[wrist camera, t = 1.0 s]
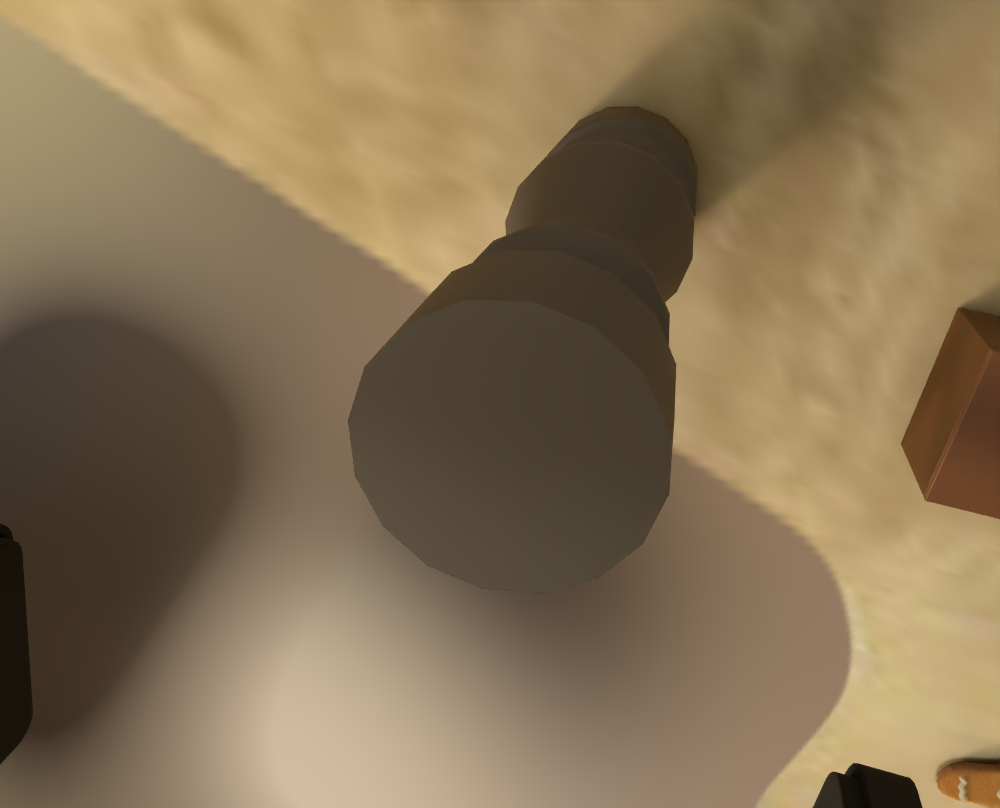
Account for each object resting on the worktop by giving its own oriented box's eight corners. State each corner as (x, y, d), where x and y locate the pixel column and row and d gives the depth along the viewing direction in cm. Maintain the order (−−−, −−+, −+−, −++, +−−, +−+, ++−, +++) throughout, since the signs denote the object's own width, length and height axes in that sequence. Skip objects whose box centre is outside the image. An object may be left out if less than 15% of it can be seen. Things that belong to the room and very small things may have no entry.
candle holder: (562, 93, 37) (346, 247, 15) (714, 120, 36) (731, 326, 14) (537, 240, 40) (323, 560, 17) (678, 268, 39) (644, 640, 17)
